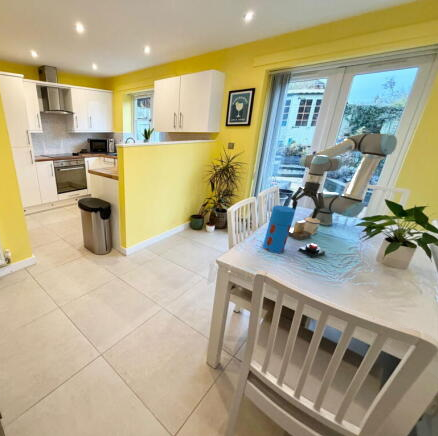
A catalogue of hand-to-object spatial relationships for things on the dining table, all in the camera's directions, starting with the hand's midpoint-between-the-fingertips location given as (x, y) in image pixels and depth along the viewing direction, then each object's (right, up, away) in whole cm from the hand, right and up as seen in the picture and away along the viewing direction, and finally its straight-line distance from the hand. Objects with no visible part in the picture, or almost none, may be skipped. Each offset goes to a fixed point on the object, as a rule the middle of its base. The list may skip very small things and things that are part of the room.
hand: (302, 214), depth 144 cm
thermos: (-25, -20, -11) cm, 34 cm away
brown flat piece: (0, -14, +6) cm, 15 cm away
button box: (-5, -22, -15) cm, 27 cm away
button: (-5, -19, -16) cm, 25 cm away
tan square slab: (0, -11, +5) cm, 12 cm away
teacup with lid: (+12, -12, +13) cm, 21 cm away
